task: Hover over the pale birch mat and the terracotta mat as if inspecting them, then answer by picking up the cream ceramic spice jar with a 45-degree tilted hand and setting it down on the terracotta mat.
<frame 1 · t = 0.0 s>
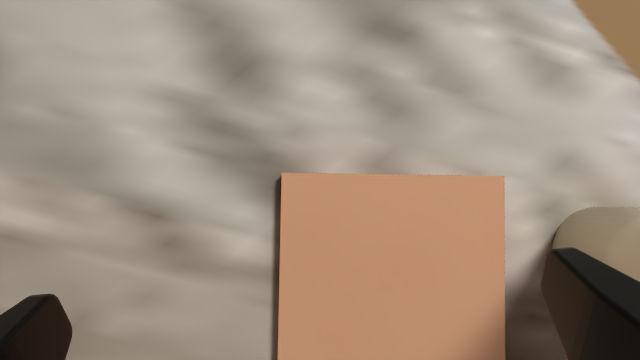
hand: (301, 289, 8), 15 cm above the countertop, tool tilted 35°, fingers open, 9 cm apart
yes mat: (389, 284, 23), on the countertop
spice jar: (598, 253, 23), on the countertop
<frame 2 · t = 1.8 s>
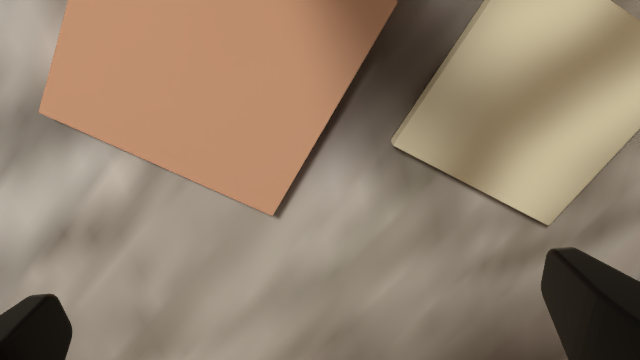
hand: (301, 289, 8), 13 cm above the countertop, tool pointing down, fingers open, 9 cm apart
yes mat: (211, 56, 19), on the countertop
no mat: (534, 101, 20), on the countertop
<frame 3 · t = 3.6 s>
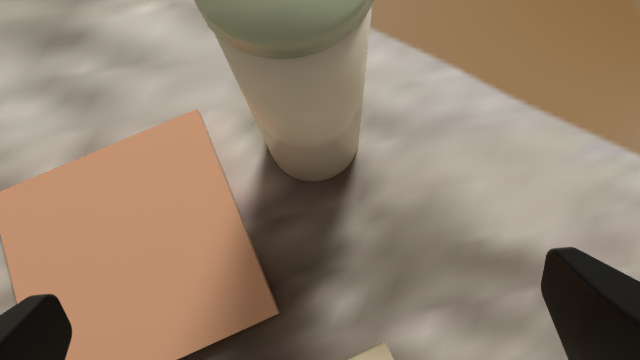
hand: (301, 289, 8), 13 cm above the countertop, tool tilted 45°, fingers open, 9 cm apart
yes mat: (133, 252, 22), on the countertop
spice jar: (313, 138, 24), on the countertop
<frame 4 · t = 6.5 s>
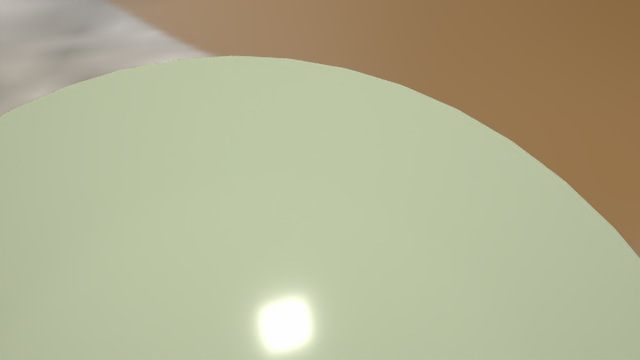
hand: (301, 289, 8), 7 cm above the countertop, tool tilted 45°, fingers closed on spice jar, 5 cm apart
spice jar: (322, 342, 14), on the countertop, touching gripper
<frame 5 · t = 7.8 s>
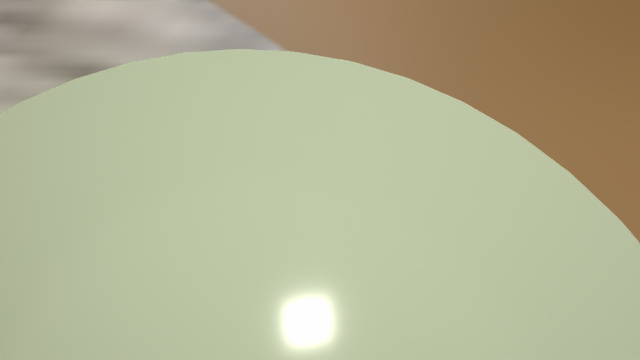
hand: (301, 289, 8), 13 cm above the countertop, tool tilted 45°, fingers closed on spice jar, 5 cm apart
spice jar: (323, 340, 14), point 7 cm above the countertop, touching gripper
when the fingers open (8 cm above the countertop, at t = 9.4 s): spice jar drops 1 cm, resting on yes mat.
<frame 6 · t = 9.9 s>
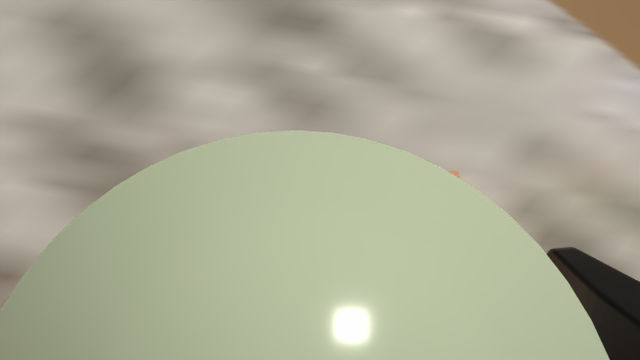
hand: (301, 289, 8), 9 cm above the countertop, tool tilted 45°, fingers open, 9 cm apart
spice jar: (323, 340, 16), point 1 cm above the countertop, touching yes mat
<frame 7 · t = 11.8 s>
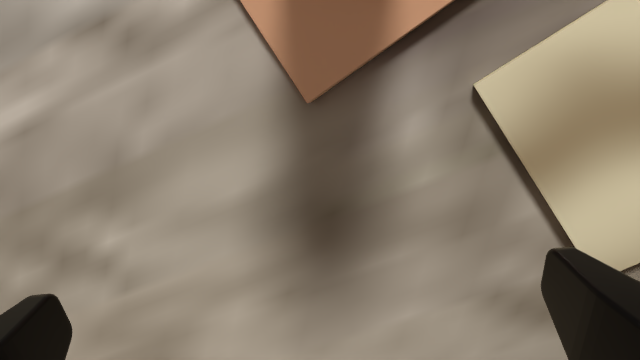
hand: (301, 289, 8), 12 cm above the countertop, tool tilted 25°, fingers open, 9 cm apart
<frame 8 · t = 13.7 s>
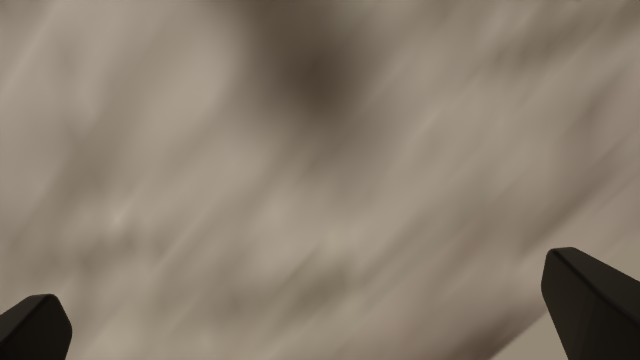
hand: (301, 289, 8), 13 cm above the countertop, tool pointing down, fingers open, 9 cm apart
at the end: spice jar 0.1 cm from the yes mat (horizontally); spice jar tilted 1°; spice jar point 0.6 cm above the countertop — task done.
